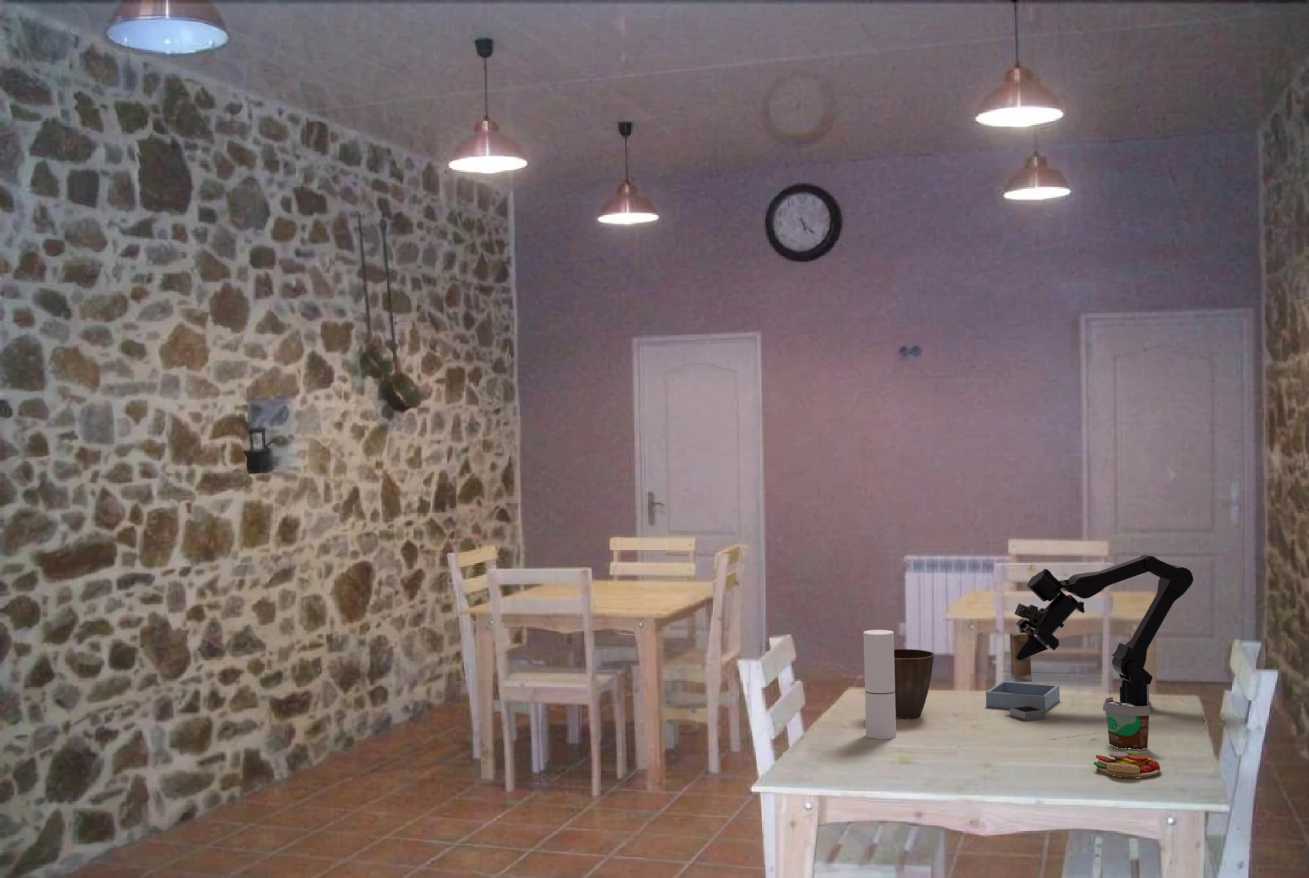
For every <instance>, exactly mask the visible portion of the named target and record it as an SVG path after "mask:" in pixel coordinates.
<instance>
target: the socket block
mask: <svg viewBox="0 0 1309 878" xmlns="http://www.w3.org/2000/svg"><path fill="white" fill-rule="evenodd" d="M1004 717H1007V718H1010V719H1013V720H1017V721H1019V722H1022V723H1029V722H1035V721H1036V722H1038V721H1045V720H1051V719H1052V718H1050V717H1047V716H1046V712H1045V710H1043V709H1039V708H1036V707H1033V706H1023V707H1015V708H1010V709H1009V714H1008V715H1007V714H1005V715H1004Z"/></svg>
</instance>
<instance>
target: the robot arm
mask: <svg viewBox="0 0 1309 878" xmlns="http://www.w3.org/2000/svg"><path fill="white" fill-rule="evenodd" d="M1148 572H1149V573H1151V574H1152V575H1154V576H1157V577H1158V578H1159V579H1158V583H1157V589H1156V590H1157V591H1156V594H1155V596H1154V598H1153V600H1152V601H1151V603H1150V605H1149V607H1148V609H1147V611H1146V612H1145V614H1144V616H1143V618H1142V619H1141V621H1140V623H1139V625H1138V627H1137V629H1136V630H1135V631H1134V633H1133V634H1132V637H1131V639H1130V640H1129V641H1127V642H1126V643H1125V644H1124V643H1122V642H1119V643H1118V645H1117V647H1116V650H1115V651H1114V653H1112V654H1111V656H1112V660H1111V665H1112V668H1113V670H1114V671H1115V672H1116V673H1118V676H1119V678H1120V679H1121V680H1122V681H1121V685H1120V687H1119V702H1120V703H1130V704H1133V705H1135V706H1150V705H1151V703H1152V702H1151V701H1150V685H1151V683H1152V681H1153V676H1152V675H1151V674H1150V673H1149V672H1148V671H1147V670H1146V669H1145V665H1146V662H1147V655H1148V649H1149V647H1150V645H1151V643H1152V641H1153V640H1154V638H1155V636H1156V635H1157V633H1158V631H1159V630H1160V628H1161V626H1162V624H1163V622H1164V621H1165V619H1166V617H1167V615H1168V613H1169V611H1170V610H1171V609H1172V607H1173V604H1175V602H1176V601H1177V600H1178V599H1180V598H1181V597H1182V596H1183V595H1185V593H1186V592H1187V591H1188V590H1189V589H1190V587H1191V586H1192V585H1193V583H1194V576H1193V573H1192V571H1191V570H1190V569H1188V567H1187V568H1186V567H1183V566H1180V565H1175V564H1169V563H1167V562H1165V561H1163V560H1160V559H1158V558H1157V557H1156V556H1154V555H1149V554H1142V555H1140V556H1139V557H1136V558H1134V559H1131V560H1128V561H1125V562H1121V563H1118V564H1117V565H1114V566H1111V567H1108V568H1105V569H1102V570H1099V571H1091V572H1082V573H1077V574H1076V573H1075V574H1073V575H1071V576H1070V577H1068V579H1063V580H1058V579H1057V578H1056V577H1055V576H1054V574H1052V572H1051V571H1050V570H1049V569H1047V568H1043V569H1042V570H1041V571H1039V572H1038V573H1036V574H1035V575H1034V576H1032V577H1031V578H1030V579H1029V581H1028V582H1027V584H1026V587H1027V589H1029V590H1030V591H1031V592H1033V594H1035V596H1037V597H1038V598H1039V599H1040V600H1041V601H1042V602H1050V603H1049V604H1048V605H1047V606H1046V607H1040V608H1039V607H1038V606H1035V605H1033V604H1030V605H1029V606H1028V605H1025V604H1022V603H1020V602H1018V604H1017V607H1016V609H1015V611H1014V615H1015V616H1018V617H1020V619H1019V620H1018V621H1017V622H1016V623H1015V625H1016V626H1017V627H1018V630H1019V633H1026V634H1028V641H1027V643H1026V644H1025V645H1024V647H1023V648H1022V650H1021V651H1020V653H1019V654H1018V656H1017V659H1018V660H1022V659H1024V658H1027V657H1029V656H1034V655H1037V654H1039V653H1042V652H1044V651H1048V650H1049V649H1050V650H1052V651H1055V650H1057V648H1058V647H1059V646H1060V641H1059V639H1058V638H1057V637H1056V636H1055V635H1054V633H1055V632H1056V631H1057V630H1059V628H1061V629H1062V628H1064V626H1065V624H1064V623H1065V622H1066V621H1067V619H1068V618H1070V616H1071V615H1073V613H1074V612H1075V611H1077V612H1079V613H1082V614H1084V613H1085V612H1086V611H1085V602H1084V601H1081V600H1080V601H1078V600H1077V598H1075V597H1078V598H1081V599H1083V600H1085V599H1089V598H1092V597H1094V596H1095V595H1098V594H1099V593H1100V592H1102V591H1103V590H1104V589H1106V588H1107V587H1109V586H1111V585H1114V584H1116V583H1121V582H1122V581H1125V580H1128V579H1132V578H1134V577H1137V576H1139V575H1143V574H1146V573H1148ZM1063 591H1065V592H1067V593H1070V594H1067V595H1066V593H1065V592H1063ZM1074 596H1075V597H1074ZM1047 646H1048V647H1049V648H1048V647H1047Z"/></svg>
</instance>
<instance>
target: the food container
mask: <svg viewBox="0 0 1309 878" xmlns="http://www.w3.org/2000/svg"><path fill="white" fill-rule="evenodd" d="M1102 710H1103V712H1105V715H1106V724H1107V734H1108V735H1107V736H1108V744H1109V745H1110V744H1111V745H1113V746H1115V747H1114V748H1116V747H1118V748H1117V749H1120V748H1127V749H1126V750H1128V748H1131V749H1143V748H1147V749H1148V745H1149V744H1148V743H1149V730H1150V729H1149V728H1150V727H1149V725H1150V716H1152V710H1151V708H1150V705H1149V706H1135V705H1133V704H1130V703H1120V701H1119V702H1118V701H1115V700H1114V697H1113V696H1109V697H1107V698H1105V699H1104V702H1103V705H1102ZM1111 745H1110V746H1111ZM1113 746H1112V747H1113ZM1143 750H1144V749H1143Z"/></svg>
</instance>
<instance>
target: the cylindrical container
mask: <svg viewBox="0 0 1309 878" xmlns="http://www.w3.org/2000/svg"><path fill="white" fill-rule="evenodd" d="M894 633H895V632H894V631H893V630H887V629H870V630H864V631H863V633H862V634H863V665H864V666H863V667H864V668H863V669H864V670H863V671H864V699H865V700H864V701H865V703H864V704H865V707H864V708H865V711H864V712H865V736H866V738H868V737H869V738H868V739H872V738H873V739H874V738H875V739H874V740H891V739H895V738H897V718H896V710H895V670H894V649H895V641H894V640H895V639H894V638H895V637H894Z"/></svg>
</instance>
